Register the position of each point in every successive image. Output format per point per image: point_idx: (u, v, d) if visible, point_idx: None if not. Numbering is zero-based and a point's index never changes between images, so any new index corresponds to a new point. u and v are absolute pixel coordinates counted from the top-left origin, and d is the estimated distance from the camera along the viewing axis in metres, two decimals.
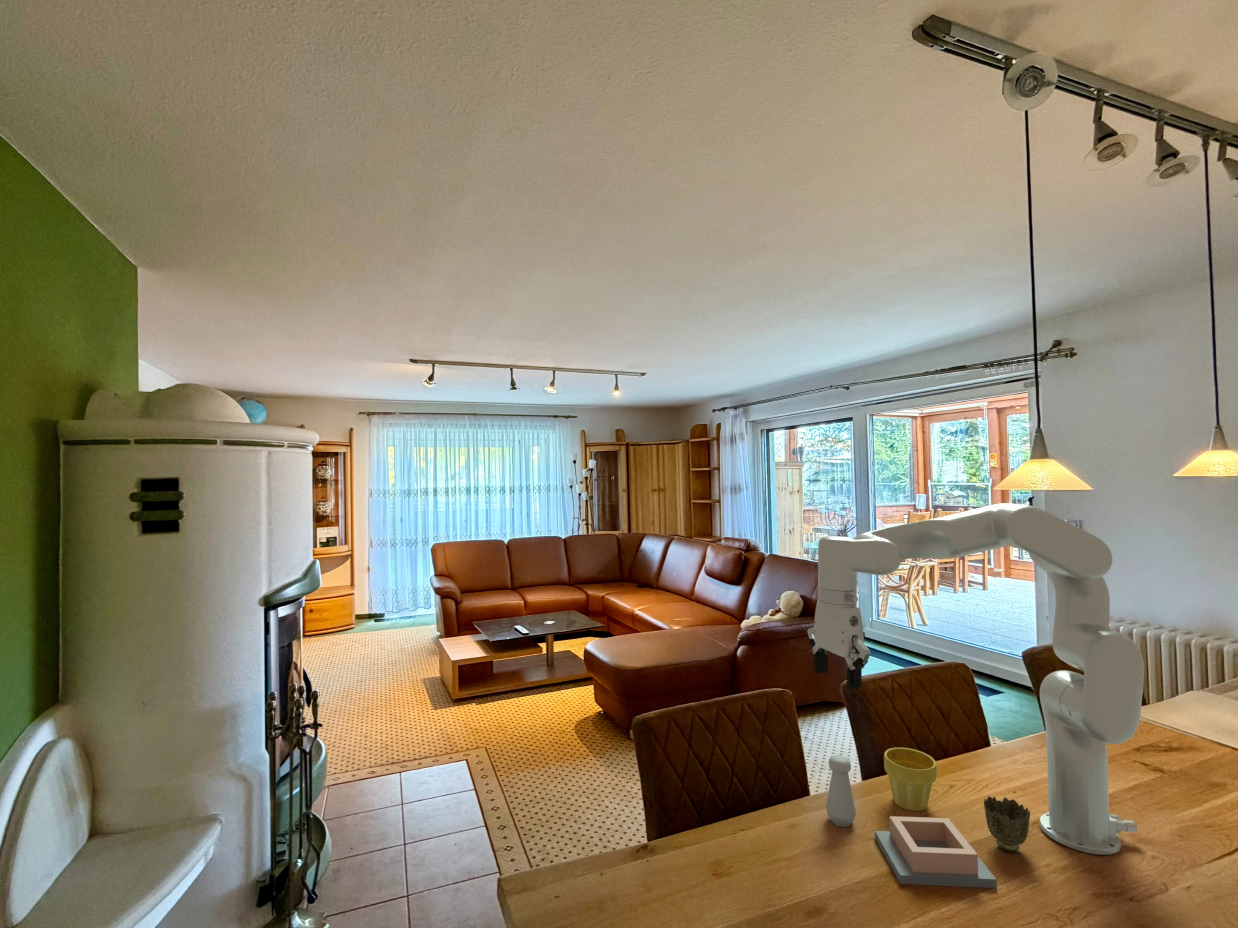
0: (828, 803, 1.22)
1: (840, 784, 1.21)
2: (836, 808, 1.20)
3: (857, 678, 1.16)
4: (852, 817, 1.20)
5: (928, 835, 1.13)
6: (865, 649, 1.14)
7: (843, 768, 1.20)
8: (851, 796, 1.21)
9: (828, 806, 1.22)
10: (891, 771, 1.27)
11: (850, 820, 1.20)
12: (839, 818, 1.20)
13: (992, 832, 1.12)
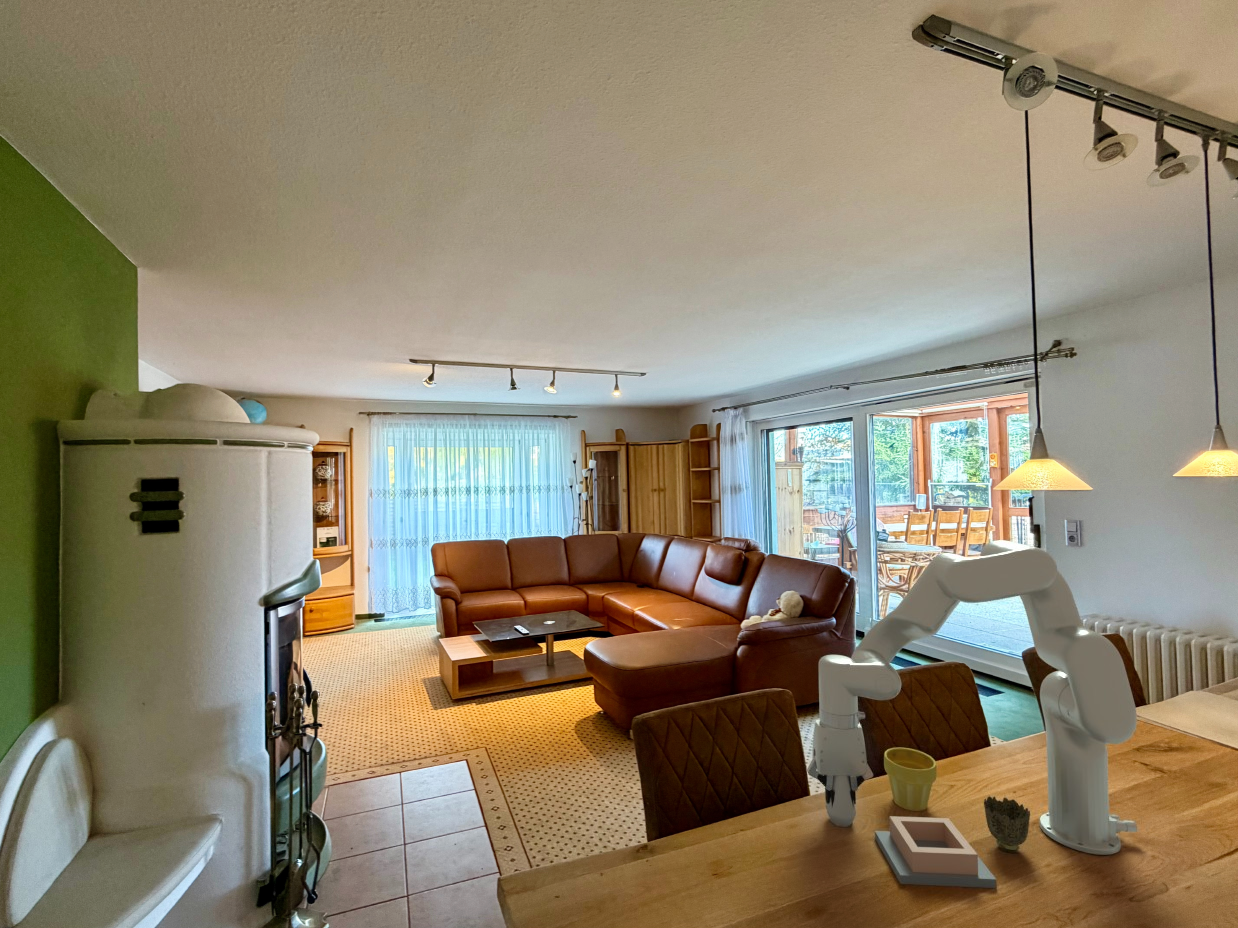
0: None
1: (840, 784, 1.21)
2: (836, 808, 1.20)
3: None
4: (852, 817, 1.20)
5: (928, 835, 1.13)
6: (871, 771, 1.22)
7: None
8: None
9: (828, 806, 1.22)
10: (892, 772, 1.27)
11: (850, 820, 1.20)
12: (839, 818, 1.20)
13: (992, 832, 1.12)
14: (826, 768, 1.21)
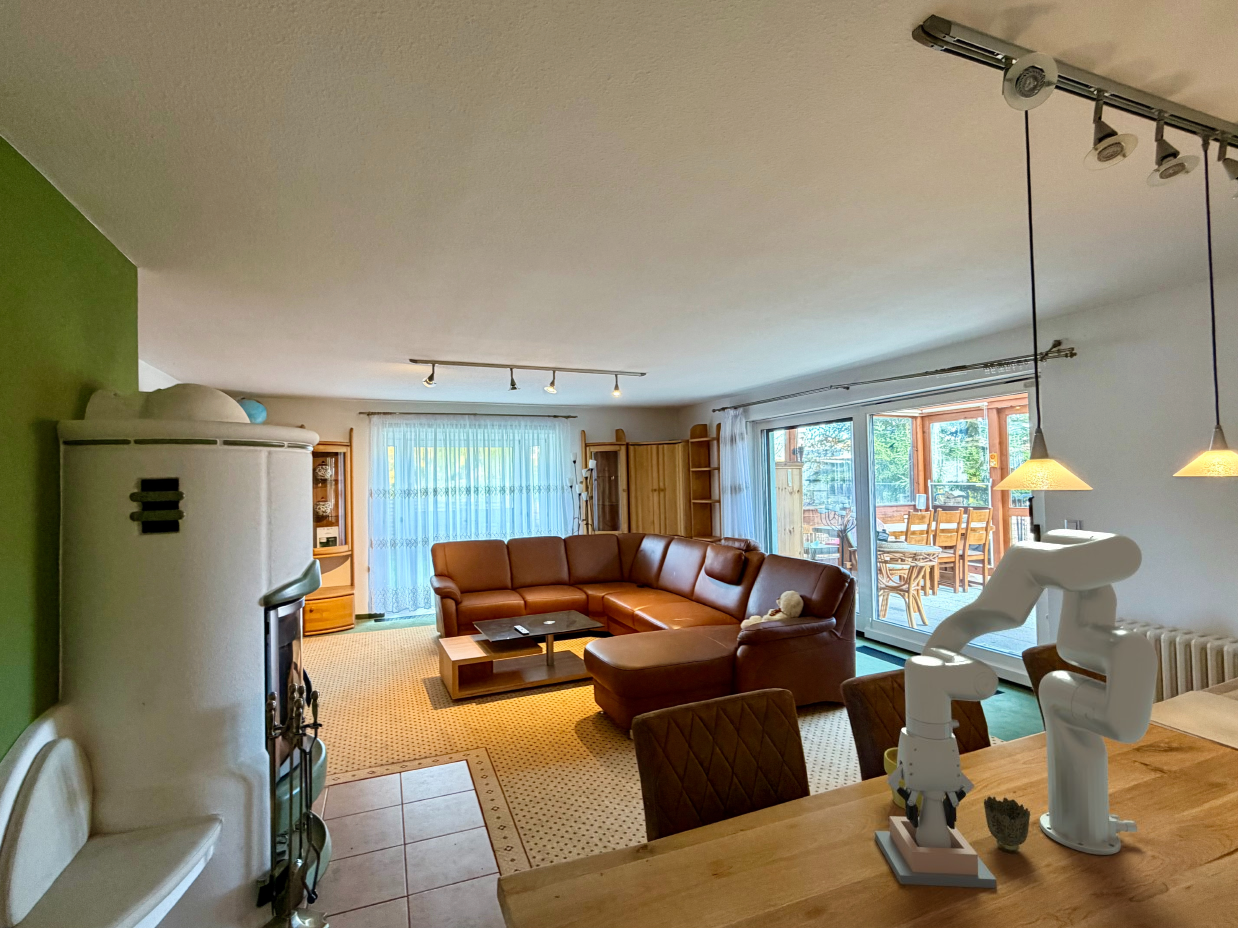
0: (919, 833, 1.09)
1: (933, 812, 1.08)
2: (929, 840, 1.07)
3: None
4: None
5: None
6: None
7: (937, 794, 1.07)
8: (946, 826, 1.08)
9: (919, 836, 1.09)
10: (892, 772, 1.27)
11: None
12: None
13: (992, 832, 1.12)
14: (916, 783, 1.08)
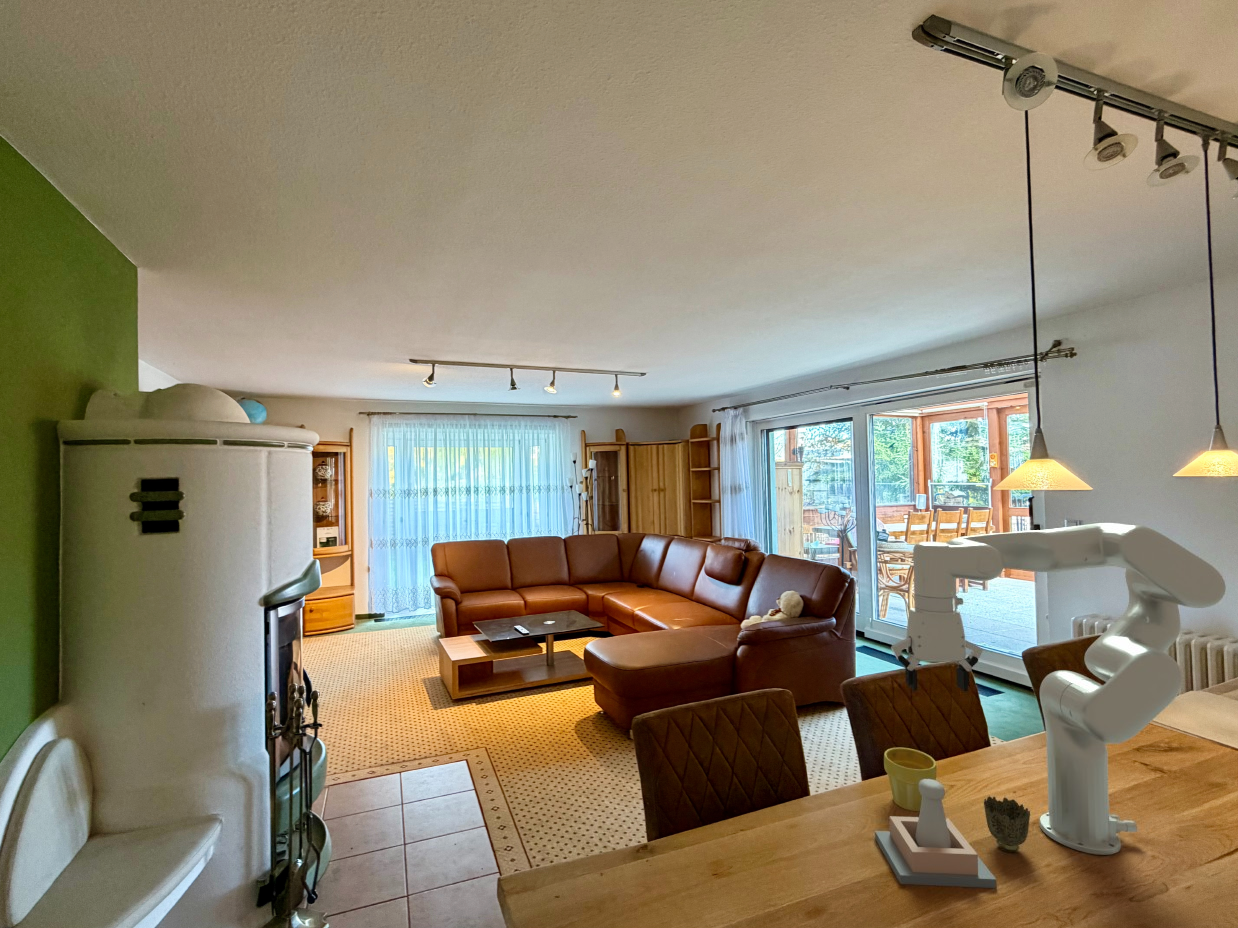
0: (919, 833, 1.09)
1: (933, 812, 1.08)
2: (929, 840, 1.07)
3: None
4: None
5: None
6: None
7: (937, 794, 1.07)
8: (946, 826, 1.08)
9: (919, 836, 1.09)
10: (892, 771, 1.27)
11: None
12: None
13: (992, 832, 1.12)
14: (924, 654, 1.18)
